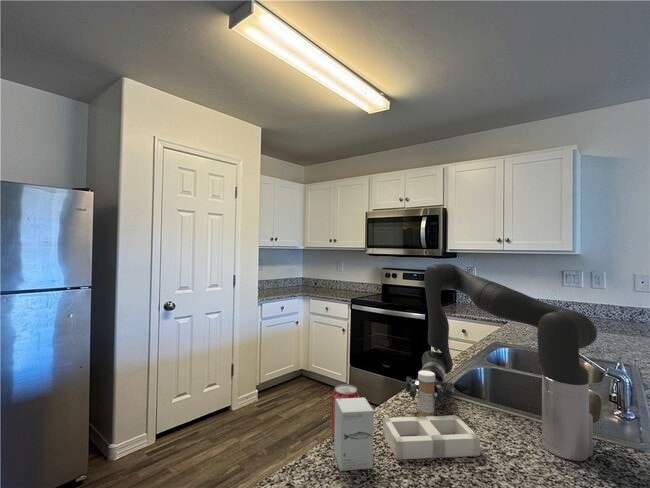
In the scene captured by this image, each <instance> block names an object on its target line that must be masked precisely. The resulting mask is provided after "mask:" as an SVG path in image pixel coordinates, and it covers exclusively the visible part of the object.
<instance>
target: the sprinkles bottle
mask: <svg viewBox="0 0 650 488" xmlns="http://www.w3.org/2000/svg"><path fill="white" fill-rule="evenodd" d="M421 370H422V369H421ZM421 370H419V371H418V372H417V373H418V375H417V378H418V379H419V393H418V397H417V400H418V401H417V403H418V404H417V409H418V411H417V412H418V413H417V415H418V416H417V417H425V416H435V402H436V400H435V399H436V396H435V391H434V389H435V388H434V385H435V384H434V383H435V373H433V372H431V371H426V370H422V371H421Z"/></svg>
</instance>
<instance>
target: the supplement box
mask: <svg viewBox="0 0 650 488" xmlns="http://www.w3.org/2000/svg"><path fill="white" fill-rule="evenodd" d="M374 412H375V410H374V409H373V408H372V406H371V404H370V403H369V402H368V399H366V397H363V396H362V397H359V398H343V399H335V429H334V436H333V439H334V440H333V453H334V456H335V459H336V463H337V466H338V469H339V471H340V472H345V471H355V470H371V469H373V464H374V462H373V461H374V460H373V459H374V458H373V456H374V455H373V454H374V418H375V417H374V414H375V413H374Z"/></svg>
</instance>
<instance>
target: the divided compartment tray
mask: <svg viewBox="0 0 650 488" xmlns="http://www.w3.org/2000/svg"><path fill="white" fill-rule="evenodd" d="M382 435H383V436H384V439H385V440H386V443H387V445H388V446H389V448H390V450H391V451H392V453H393V456H394V458H395V459H396V460H416V459H417V460H418V459H435V458H436V459H438V458H439V459H440V458H455V457H456V458H459V457H476V456H480V455H481V438H480V436H479V435H478V434H477V433H476V432H474V431H473V430H472V429H471V427H469V426H468V425H467V424H466V423H465V422H464V421H463V420H462V418H460V417H459V416H458V415H455V414H454V415H434V416H425V417H418V416H403V417H401V416H400V417H383V418H382Z"/></svg>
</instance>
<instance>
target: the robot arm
mask: <svg viewBox="0 0 650 488" xmlns="http://www.w3.org/2000/svg"><path fill="white" fill-rule="evenodd" d="M423 278H424V279H423V280H424V282H423V283H424V290H425V298H426V305H427V306H426V307H427V313H428V316H427V317H428V327H427V328H428V331H427V335H428V336H427V342H428V345H429V346H431V348H434V349H436V350H439V351H440V352H438V351H434V350H433V351H432V350H427V351H425V352H423V354H422V357H421V364H422V367H421V369H420V371H422V370H426V371H431V372H433V373H435V383H434V384H435V385H434V388H435V389H434V391H435V398H436V404H440V403H442V402H443V400H444V398H445V399H446V400H451V399H452V397H453V395H454V392H455V390H454V389H455V388H454V387H455V384H453V383H449V384H445V381H446V375H448V374H450V373H451V372H452V370H453V367H454V366H453V364H454V363H453V359H452V355H451V350H450V347H449V335H450V325H449V320H448V317H447V316H446V315H447V314H446V313H445V311H444V309H443V306H442V303H441V295H442V291H445V290H454V291H458V292H460V293H462V294H464V295H467V296H468V297H469V299H470V300H471V302H472V303H473V305H475V306H476V307H477V308H479V309H480V310H482V311H484V312H486V313H487V314H490V315H493V316H495V317H497V318H500V319H503V320H507V321H511V322H516V323H521V324H525V325H529V326H532V327H534V328H537V329H536V330H537V331H536V333H537V334H536V336H537V339H536V340H537V353H538V354H537V355H538V357H537V358H538V361H539V364H540V366H541V371H542V372H541V375H542V376H541V378H542V379H541V383H542V384H541V385H542V386H541V394H542V395H541V445H542V447H543V448H544V449H545V450H546V451H548V452H549V453H551V454H553V455H554V456H557V457H559V458H562V459H566V460H571V461H575V462H580V461H582V462H583V461H586V460H588V459H589V457H593V456H594V455H593V451H594V450H593V447H594V446H593V445H594V444H593V443H594V442H593V440H594V439H593V437H594V435H593V426H594V425H593V424H594V423H593V419H594V418H593V417H594V416H593V414H592V413H590V409H589V408H590V405H589V403H590V402H589V401H590V397H589V395H590V392H589V390H590V388H589V387H590V386H589V382H590V379H589V378H590V377H589V374H590V373H589V371H588V369H587V368H586V367H584V366H582V365H581V363H580V349H584V348H586V347H589V346H590V345H592V344H593V343H594V342H595V341H596V339H597V337H598V332H597V331H598V330H597V328H596V325H595V324H594V323H593V321H592V320H591V319H590V318H589V317H587V316H586V315H584V314H583V313H581V312H578V311H576V310H572V309H568V308H564V307H561V306H558V305H554V304H550V303H547V302H544V301H542V300H538V299H536V298H534V297H532V296H530V295H527V294H525V293H523V292H520V291H517V290H515V289H512V288H511V287H509V286H507V285H506V286H505V285H502V284H501V283H498V282H495V281H491V280H489V279H486V278H484V277H481V276H478V275H475V274H473V273H470V272H468V271H466V270H464V269H462V268H460V267H458V266H457V265H455V264H452V263H437V264H436V263H434V264H430V265H428V266H427V267H426V269H425V271H424V276H423ZM405 378H406V379H405V392H406V393H409V397H411V399H415V398H416V396H417V395H418V394H419V379H418V377H417V378H415V379H412V378H411V376H406V377H405Z"/></svg>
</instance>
